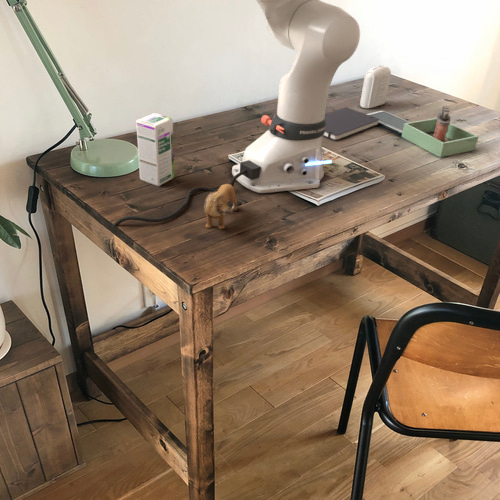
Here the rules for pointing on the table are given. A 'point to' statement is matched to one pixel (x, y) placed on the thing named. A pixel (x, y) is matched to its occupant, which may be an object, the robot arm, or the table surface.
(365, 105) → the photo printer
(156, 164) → the syrup box
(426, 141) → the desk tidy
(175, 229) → the table surface
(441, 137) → the lighter
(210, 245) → the table surface
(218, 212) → the tan animal figure
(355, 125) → the notebook
